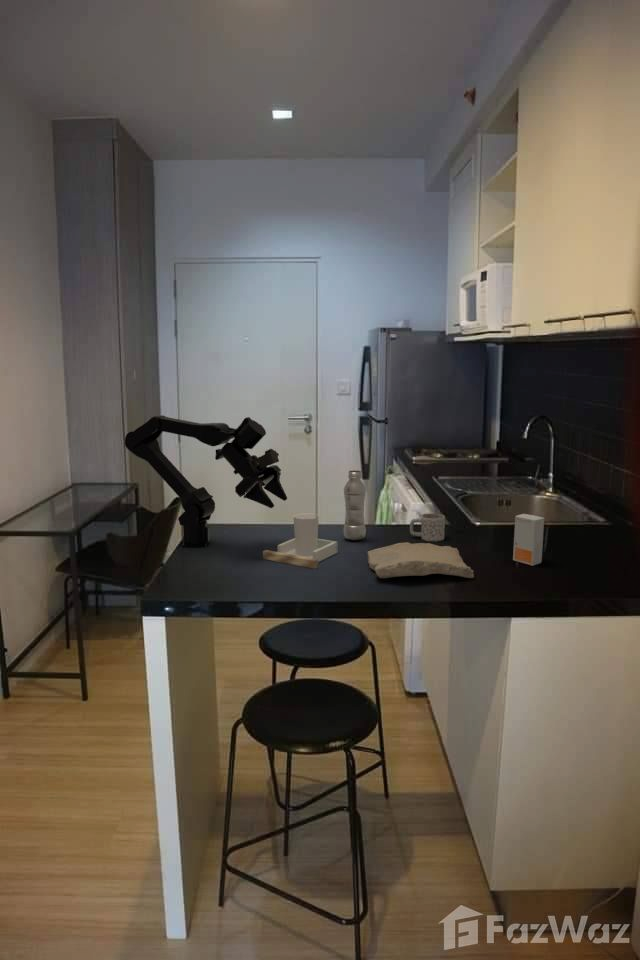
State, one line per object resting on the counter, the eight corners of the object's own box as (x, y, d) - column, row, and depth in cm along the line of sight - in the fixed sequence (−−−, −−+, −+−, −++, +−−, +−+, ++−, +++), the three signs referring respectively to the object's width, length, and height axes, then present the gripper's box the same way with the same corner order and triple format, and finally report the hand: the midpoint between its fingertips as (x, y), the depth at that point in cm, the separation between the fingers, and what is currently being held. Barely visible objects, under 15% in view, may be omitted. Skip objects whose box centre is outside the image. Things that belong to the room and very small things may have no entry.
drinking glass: (323, 553, 177) (323, 517, 175) (300, 557, 174) (300, 520, 172) (311, 547, 183) (311, 512, 181) (289, 551, 180) (289, 515, 178)
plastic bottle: (366, 536, 196) (366, 469, 192) (365, 543, 189) (365, 473, 185) (344, 536, 196) (344, 469, 192) (342, 542, 190) (342, 473, 186)
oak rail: (263, 558, 175) (262, 551, 175) (266, 557, 176) (266, 549, 176) (314, 568, 167) (314, 561, 166) (317, 567, 168) (317, 559, 168)
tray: (313, 564, 170) (313, 553, 170) (275, 557, 176) (275, 546, 176) (337, 552, 180) (337, 541, 180) (300, 546, 186) (300, 535, 186)
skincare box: (512, 560, 172) (514, 515, 170) (521, 557, 175) (524, 513, 173) (532, 566, 168) (535, 520, 166) (542, 562, 170) (545, 517, 168)
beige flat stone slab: (478, 588, 156) (457, 555, 175) (479, 558, 153) (458, 528, 173) (374, 594, 155) (365, 559, 174) (374, 564, 153) (364, 532, 172)
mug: (442, 535, 197) (442, 513, 196) (445, 541, 190) (446, 518, 189) (408, 535, 197) (408, 513, 196) (410, 541, 191) (411, 518, 189)
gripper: (244, 444, 168) (286, 490, 167) (273, 436, 185) (311, 477, 184) (217, 474, 172) (258, 518, 171) (248, 462, 189) (285, 503, 188)
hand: (279, 503), depth 178 cm, fingers open, 9 cm apart
